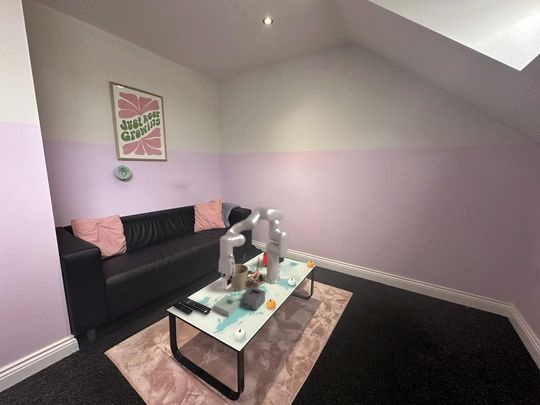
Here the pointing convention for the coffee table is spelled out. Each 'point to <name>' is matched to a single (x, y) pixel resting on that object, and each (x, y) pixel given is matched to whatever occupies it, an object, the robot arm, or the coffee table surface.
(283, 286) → the coffee table surface
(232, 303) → the block
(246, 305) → the dark grey rounded block
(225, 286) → the plug
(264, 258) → the game console
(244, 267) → the plant pot
